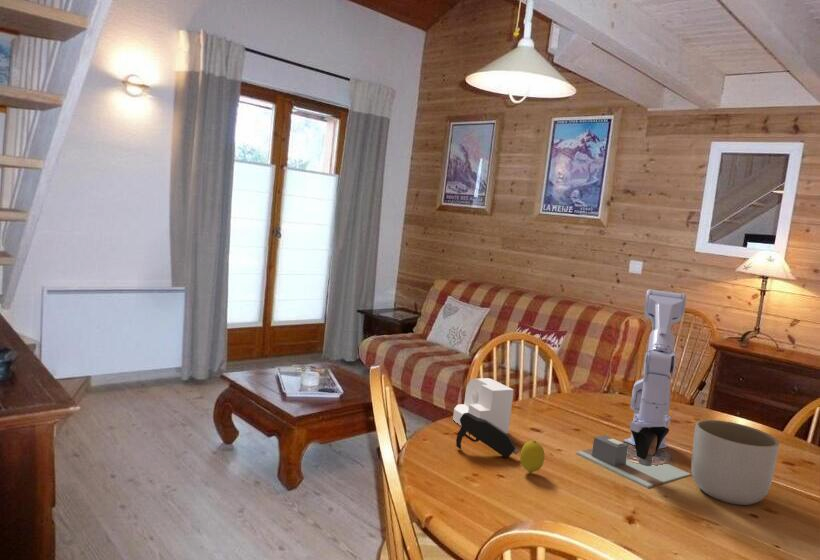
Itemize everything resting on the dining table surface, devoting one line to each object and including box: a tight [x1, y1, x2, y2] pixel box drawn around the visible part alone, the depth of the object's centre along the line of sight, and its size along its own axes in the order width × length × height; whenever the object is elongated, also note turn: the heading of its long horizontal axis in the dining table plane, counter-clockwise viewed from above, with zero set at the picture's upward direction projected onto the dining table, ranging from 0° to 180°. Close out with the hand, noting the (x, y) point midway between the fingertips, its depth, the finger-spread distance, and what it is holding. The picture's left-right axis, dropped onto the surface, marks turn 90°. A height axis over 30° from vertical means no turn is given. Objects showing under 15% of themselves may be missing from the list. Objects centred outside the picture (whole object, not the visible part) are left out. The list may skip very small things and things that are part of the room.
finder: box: [592, 434, 629, 467], centre depth 150 cm, size 4×7×5 cm, turn 34°
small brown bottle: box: [638, 435, 658, 466], centre depth 141 cm, size 4×4×7 cm
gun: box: [455, 413, 519, 458], centre depth 148 cm, size 3×16×10 cm, turn 78°
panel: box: [575, 448, 692, 489], centre depth 150 cm, size 18×21×1 cm
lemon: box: [519, 439, 545, 474], centre depth 138 cm, size 6×6×8 cm
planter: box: [690, 419, 780, 506], centre depth 136 cm, size 17×17×15 cm
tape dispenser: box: [452, 377, 515, 434], centre depth 168 cm, size 16×10×13 cm, turn 28°
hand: (645, 456), depth 141 cm, fingers closed on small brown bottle, 4 cm apart
